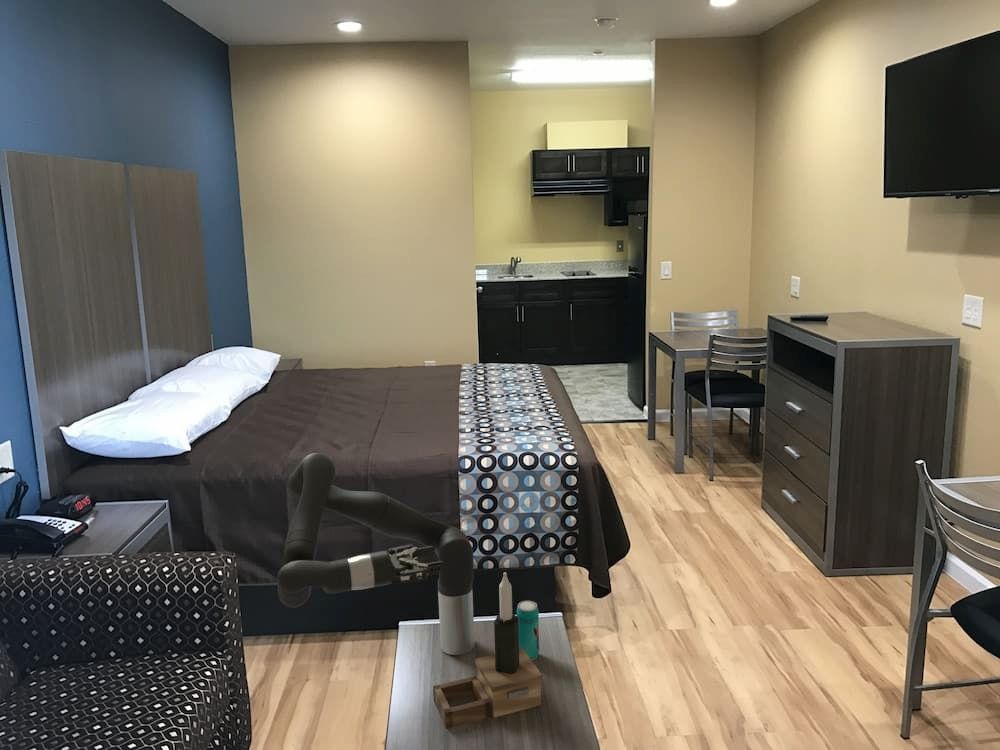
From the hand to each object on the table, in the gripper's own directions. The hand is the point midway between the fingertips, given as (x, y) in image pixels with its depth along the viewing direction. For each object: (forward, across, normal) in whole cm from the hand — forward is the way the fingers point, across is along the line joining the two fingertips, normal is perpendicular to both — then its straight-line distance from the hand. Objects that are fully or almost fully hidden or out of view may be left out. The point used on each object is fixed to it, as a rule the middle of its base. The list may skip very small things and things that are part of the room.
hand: (438, 557), depth 180 cm
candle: (+15, -4, +30) cm, 34 cm away
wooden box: (+9, -4, +38) cm, 39 cm away
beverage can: (+26, +10, +38) cm, 47 cm away
